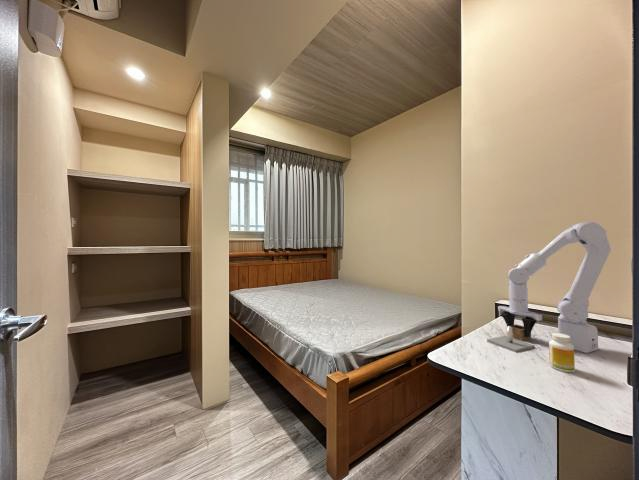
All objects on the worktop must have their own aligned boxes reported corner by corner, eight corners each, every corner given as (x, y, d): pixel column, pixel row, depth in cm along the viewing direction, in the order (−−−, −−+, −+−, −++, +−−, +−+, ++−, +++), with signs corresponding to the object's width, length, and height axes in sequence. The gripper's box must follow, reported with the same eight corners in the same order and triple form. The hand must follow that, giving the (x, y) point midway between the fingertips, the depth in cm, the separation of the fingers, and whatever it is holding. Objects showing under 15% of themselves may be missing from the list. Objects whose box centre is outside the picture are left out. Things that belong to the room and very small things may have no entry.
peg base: (534, 347, 89) (534, 328, 89) (515, 352, 85) (515, 332, 85) (505, 337, 98) (504, 320, 98) (487, 341, 95) (486, 323, 95)
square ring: (531, 338, 97) (530, 328, 97) (522, 341, 95) (521, 330, 95) (516, 334, 101) (516, 324, 101) (507, 336, 100) (507, 326, 100)
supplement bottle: (580, 373, 71) (579, 339, 71) (557, 372, 72) (557, 338, 72) (565, 364, 77) (564, 332, 77) (545, 363, 78) (544, 331, 78)
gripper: (492, 296, 104) (493, 329, 103) (533, 304, 90) (533, 342, 90) (504, 294, 106) (505, 327, 106) (545, 302, 92) (546, 339, 92)
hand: (519, 333), depth 98 cm, fingers closed on square ring, 5 cm apart
